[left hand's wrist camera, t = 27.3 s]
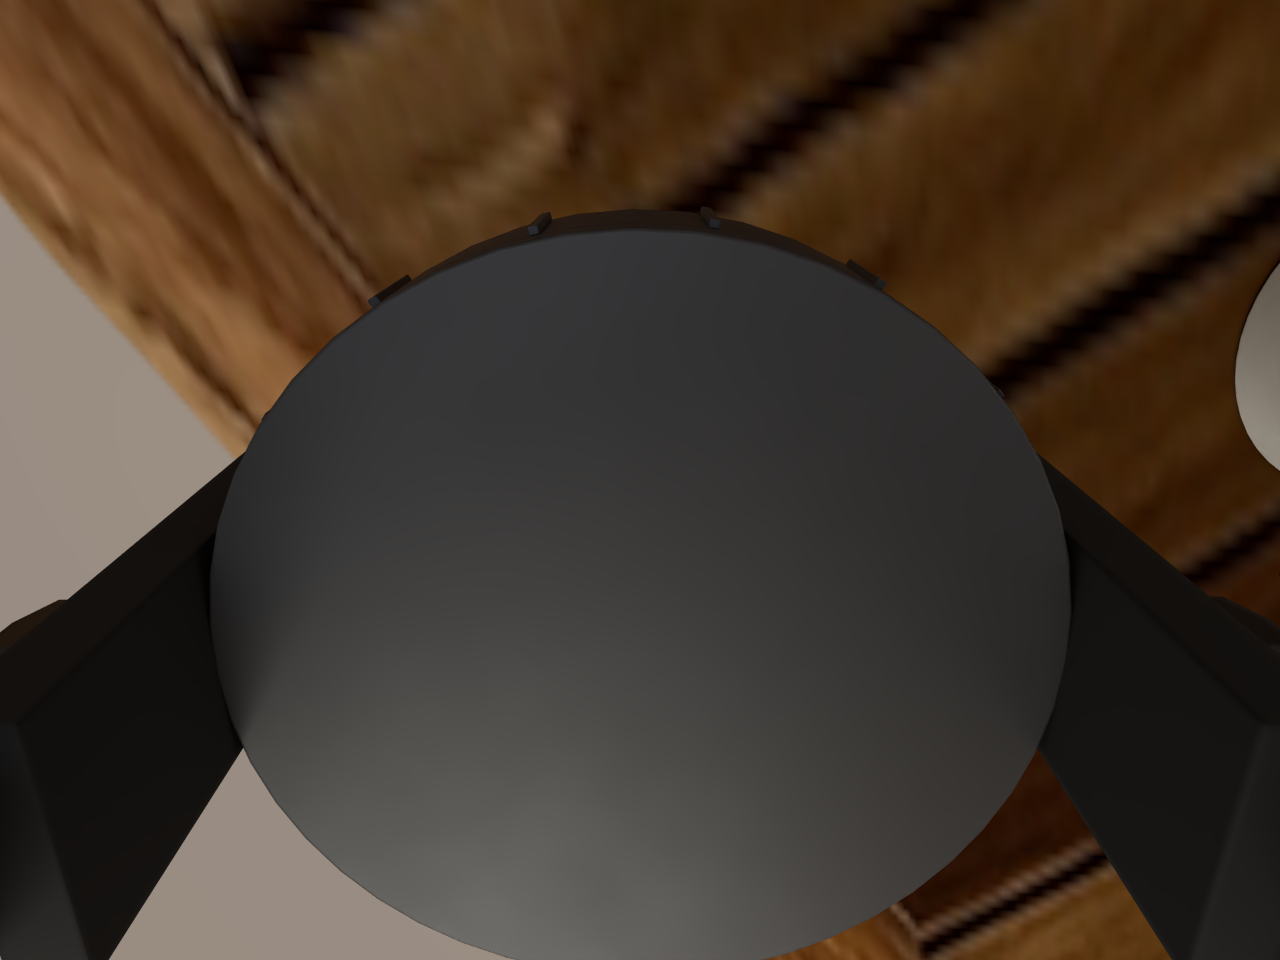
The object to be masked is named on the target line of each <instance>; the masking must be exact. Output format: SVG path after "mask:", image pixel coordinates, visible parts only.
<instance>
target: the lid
mask: <svg viewBox="0 0 1280 960" xmlns="http://www.w3.org/2000/svg"><path fill="white" fill-rule="evenodd" d="M886 284H887V283H886V282H885V281H883V280H882V279H880V278H879V277H877V276H876V275H874V274H872V273H871V272H869V271H868V270H866V269H865V268H863V267H862V266H860V265H859V264H857V263H855V262H854V261H852V260H851V259H850V260H849V261H848V262H847V264H846V265H844V264H843V263H841V262H839V261H837V260H835V259H833V258H831V257H829V256H827V255H825V254H823V253H821V252H819V251H817V250H815V249H813V248H811V247H809V246H807V245H805V244H803V243H801V242H799V241H797V240H794V239H791V238H788V237H785V236H782V235H779V234H776V233H773V232H771V231H768V230H765V229H762V228H759V227H756V226H753V225H750V224H747V223H744V222H739V221H733V220H728V219H723V218H718V217H717V215H716V214H715V213H714V212H713V211H712V209H711V208H708V207H701V212H700V214H696V213H691V212H677V211H657V210H637V209H630V210H619V211H607V212H596V213H584V214H575V215H571V216H566V217H562V218H558V219H553V220H552V217H551V213H550V212H547V213H543V214H541V215H540V216H539V217H538V218H536V219H535V220H534V221H533V222H532V223H531V224H530V225H527V226H523V227H520V228H517V229H515V230H512V231H509V232H507V233H504V234H501V235H499V236H496V237H494V238H491V239H488V240H486V241H483V242H480V243H478V244H475V245H472V246H470V247H468V248H467V249H465V250H463V251H461V252H459V253H458V254H456V255H454V256H452V257H450V258H448V259H447V260H445V261H443V262H441V263H439V264H438V265H436V266H434V267H432V268H430V269H428V270H427V271H425V272H423V273H422V274H420V275H419V276H417V277H416V278H415V279H413V280H411V278H410V277H409V276H408V275H406V276H404V277H403V278H401V279H399V280H398V281H396V282H395V283H393V284H392V285H390V286H389V287H387V288H386V289H384V290H383V291H381V292H379V293H378V294H376V295H375V296H373V297H372V298H371V299H369V300H368V302H369V304H370V305H371V306H372V307H373V308H372V309H371V310H369V311H368V312H367V313H365V314H364V315H363V316H361V317H360V318H359V319H357V320H356V321H355V322H353V323H352V324H351V325H349V326H348V327H347V328H345V329H344V330H343V331H341V332H340V333H339V334H337V335H336V336H335V337H333V338H332V339H331V340H330V342H329V343H328V344H327V345H326V346H325V347H324V348H323V349H322V350H321V351H320V352H319V353H318V354H317V355H316V356H315V357H314V358H313V359H312V360H311V361H310V362H309V363H308V364H307V365H306V366H305V367H304V368H303V369H302V370H301V371H300V372H299V373H298V374H297V375H296V376H295V377H294V378H293V379H292V380H291V382H290V383H289V384H288V386H287V387H286V389H285V390H284V391H283V393H282V394H281V396H280V397H279V398H278V400H277V401H276V402H275V404H274V405H273V407H272V408H271V409H270V410H269V411H268V412H266V413H265V415H264V416H263V418H262V420H261V421H262V422H261V423H260V425H259V426H258V428H257V430H256V432H255V434H254V436H253V438H252V440H251V442H250V444H249V446H248V448H247V450H246V452H245V454H244V456H243V458H242V459H241V461H240V463H239V465H238V467H237V469H236V471H235V473H234V476H233V479H232V482H231V485H230V488H229V491H228V494H227V497H226V500H225V503H224V506H223V509H222V513H221V516H220V519H219V522H218V525H217V532H216V538H215V544H214V551H213V557H212V563H211V569H210V602H209V626H210V633H211V640H212V646H213V651H214V656H215V661H216V666H217V672H218V676H219V681H220V685H221V690H222V693H223V697H224V700H225V703H226V707H227V710H228V713H229V716H230V720H231V722H232V724H233V726H234V728H235V731H236V733H237V735H238V737H239V739H240V741H241V743H242V746H243V748H244V750H245V752H246V754H247V756H248V758H249V760H250V763H251V764H252V766H253V767H254V769H255V771H256V772H257V774H258V775H259V777H260V778H261V780H262V782H263V783H264V785H265V786H266V788H267V789H268V791H269V792H270V794H271V796H272V797H273V799H274V800H275V802H276V803H277V804H278V806H279V807H280V808H281V809H282V810H283V812H284V813H285V814H286V815H287V816H288V818H289V819H290V820H291V821H292V822H293V824H294V825H295V826H296V827H297V828H298V830H299V831H300V832H301V833H302V834H303V836H304V837H305V838H306V839H307V840H308V841H309V842H310V843H311V844H312V845H313V846H314V847H315V848H317V849H318V850H319V851H320V852H321V853H322V854H323V855H324V856H325V857H326V858H327V859H328V860H329V861H330V862H331V863H333V864H334V865H335V866H336V867H337V868H338V869H339V870H340V871H341V872H342V873H344V874H345V875H347V876H348V877H349V878H351V879H352V880H353V881H355V882H356V883H357V884H359V885H360V886H361V887H363V888H364V889H365V890H367V891H368V892H369V893H371V894H372V895H373V896H375V897H376V898H377V899H379V900H381V901H382V902H384V903H386V904H387V905H389V906H391V907H393V908H394V909H396V910H398V911H399V912H401V913H403V914H405V915H406V916H408V917H410V918H411V919H413V920H415V921H416V922H418V923H420V924H422V925H425V926H427V927H429V928H431V929H433V930H436V931H438V932H440V933H442V934H444V935H447V936H449V937H451V938H453V939H456V940H458V941H460V942H462V943H465V944H468V945H471V946H474V947H477V948H480V949H483V950H486V951H489V952H492V953H495V954H498V955H501V956H504V957H507V958H511V959H516V960H764V959H768V958H772V957H776V956H780V955H784V954H787V953H790V952H793V951H795V950H798V949H801V948H804V947H806V946H809V945H812V944H814V943H817V942H820V941H823V940H825V939H828V938H831V937H833V936H835V935H837V934H839V933H841V932H843V931H845V930H847V929H849V928H851V927H853V926H855V925H857V924H860V923H862V922H864V921H866V920H868V919H870V918H872V917H874V916H875V915H877V914H879V913H880V912H882V911H883V910H885V909H886V908H888V907H890V906H891V905H893V904H894V903H896V902H898V901H899V900H901V899H902V898H904V897H906V896H907V895H909V894H910V893H912V892H914V891H915V890H916V889H917V888H919V887H920V886H921V885H922V884H924V883H925V882H926V881H927V880H929V879H930V878H931V877H932V876H934V875H935V874H936V873H937V872H939V871H940V870H941V869H942V868H944V867H945V866H946V865H948V864H949V863H950V862H951V861H952V860H953V859H954V858H955V857H956V856H957V855H958V854H959V853H960V852H961V851H962V850H963V849H964V848H965V847H966V846H967V845H968V844H969V843H970V842H971V841H972V840H973V839H974V838H975V837H976V836H977V835H978V834H979V833H980V832H981V831H982V830H983V829H984V828H985V826H986V825H987V824H988V822H989V821H990V820H991V819H992V817H993V816H994V815H995V813H996V812H997V811H998V810H999V808H1000V807H1001V806H1002V804H1003V803H1004V802H1005V801H1006V799H1007V798H1008V797H1009V795H1010V794H1011V793H1012V791H1013V790H1014V788H1015V786H1016V785H1017V783H1018V781H1019V780H1020V778H1021V776H1022V775H1023V773H1024V771H1025V769H1026V768H1027V766H1028V764H1029V763H1030V761H1031V759H1032V758H1033V756H1034V754H1035V752H1036V751H1037V748H1038V746H1039V743H1040V741H1041V739H1042V736H1043V734H1044V731H1045V729H1046V727H1047V724H1048V722H1049V720H1050V717H1051V715H1052V712H1053V710H1054V708H1055V704H1056V700H1057V696H1058V692H1059V688H1060V684H1061V679H1062V675H1063V670H1064V665H1065V661H1066V655H1067V650H1068V644H1069V635H1070V625H1071V616H1072V603H1071V582H1070V560H1069V556H1068V551H1067V546H1066V541H1065V536H1064V531H1063V526H1062V521H1061V517H1060V512H1059V508H1058V506H1057V503H1056V500H1055V498H1054V495H1053V492H1052V490H1051V487H1050V484H1049V482H1048V479H1047V476H1046V474H1045V471H1044V468H1043V466H1042V463H1041V460H1040V459H1039V457H1038V455H1037V453H1036V452H1035V450H1034V448H1033V446H1032V444H1031V443H1030V441H1029V439H1028V437H1027V436H1026V434H1025V432H1024V430H1023V429H1022V427H1021V425H1020V423H1019V421H1018V420H1017V418H1016V416H1015V414H1014V413H1013V411H1012V410H1011V409H1010V408H1009V406H1008V405H1007V404H1006V402H1005V401H1004V400H1003V399H1002V398H1003V397H1004V395H1003V393H1002V392H1001V390H1000V389H999V388H997V387H996V386H995V385H993V384H992V383H991V382H989V381H988V380H987V378H986V377H985V376H984V375H983V373H982V372H981V371H980V370H979V368H978V367H977V366H976V365H975V364H974V363H973V362H971V361H970V360H969V359H968V358H967V357H966V356H965V355H964V354H963V353H962V352H961V351H960V350H959V349H958V348H957V347H955V346H954V345H953V344H952V343H951V342H950V341H949V340H948V339H947V338H946V337H945V336H944V335H943V334H942V333H940V332H939V331H938V330H937V329H936V328H935V327H934V326H933V325H931V324H930V323H928V322H927V321H925V320H924V319H922V318H921V317H920V316H918V315H917V314H915V313H914V312H912V311H911V310H909V309H908V308H907V307H905V306H904V305H902V304H901V303H899V302H898V301H896V300H895V299H894V298H892V297H891V296H889V295H888V294H886V293H885V292H883V291H882V290H883V289H884V287H885V286H886Z"/></svg>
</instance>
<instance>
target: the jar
mask: <svg viewBox="0 0 1280 960" xmlns="http://www.w3.org/2000/svg"><path fill="white" fill-rule="evenodd" d="M1235 387H1236V399H1237V403H1238V407H1239V412H1240V416H1241V419H1242V421H1243V423H1244V426H1245V428H1246V431H1247V433H1248V435H1249V437H1250V438H1251V440H1252V441H1253V443H1254V445H1255V446H1256V448H1257V449H1258V450H1259V451H1260V453H1261V454H1262V455H1263V456H1264V457H1265V458H1266V459H1267V460H1268V461H1269V462H1270V463H1271V464H1272V465H1273V466H1275V467H1276V468H1277V469H1278V470H1280V263H1279V265H1278V266H1277V267H1276V268H1275V270H1274V271H1273V272H1272V274H1271V275H1270V277H1269V278H1268V280H1267V281H1266V283H1265V285H1264V286H1263V288H1262V290H1261V291H1260V293H1259V294H1258V296H1257V298H1256V300H1255V303H1254V305H1253V307H1252V309H1251V311H1250V313H1249V315H1248V318H1247V321H1246V323H1245V326H1244V329H1243V332H1242V335H1241V339H1240V343H1239V348H1238V353H1237V358H1236V371H1235Z"/></svg>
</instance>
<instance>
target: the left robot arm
mask: <svg viewBox="0 0 1280 960" xmlns="http://www.w3.org/2000/svg"><path fill="white" fill-rule="evenodd" d="M245 452H246V451H245ZM245 452H244V453H243V454H242V455H241V456H239V457H238V458H237V459H236V460H235V461H233V462H232V463H231V464H230V465H229V466H227V467H226V468H225V469H224V470H223V471H222V472H220V473H219V474H218V475H217V476H215V477H214V478H213V479H212V480H211V481H209V482H208V483H207V484H206V485H205V486H203V487H202V488H201V489H200V490H199V491H197V492H196V493H195V494H194V495H193V496H191V497H190V498H189V499H188V500H187V501H185V502H184V503H183V504H182V505H181V506H179V507H178V508H177V509H176V510H175V511H173V512H172V513H171V514H170V515H169V516H167V517H166V518H165V519H164V520H163V521H161V522H160V523H159V524H158V525H157V526H155V527H154V528H153V529H152V530H151V531H149V532H148V533H147V534H146V535H145V536H143V537H142V538H141V539H140V540H139V541H137V542H136V543H135V544H134V545H133V546H131V547H130V548H129V549H128V550H127V551H125V552H124V553H123V554H122V555H121V556H119V557H118V558H117V559H116V560H115V561H113V562H112V563H111V564H110V565H109V566H107V567H106V568H105V569H104V570H103V571H101V572H100V573H99V574H98V575H97V576H95V577H94V578H93V579H92V580H91V581H89V582H88V583H87V584H86V585H85V586H83V587H82V588H81V589H80V590H78V591H77V592H76V593H75V594H74V595H72V596H71V597H70V598H69V599H68V600H58V601H56V602H54V603H52V604H50V605H48V606H46V607H43V608H41V609H40V610H37V611H35V612H33V613H31V614H29V615H27V616H25V617H23V618H21V619H19V620H17V621H15V622H13V623H11V624H10V625H9V626H8V627H6V628H5V629H4V630H3V631H1V632H0V956H1V959H2V960H109V958H110V957H111V955H112V954H113V952H114V950H115V949H116V947H117V946H118V944H119V943H120V941H121V939H122V938H123V936H124V935H125V933H126V932H127V930H128V928H129V927H130V925H131V924H132V922H133V921H134V919H135V917H136V916H137V914H138V913H139V911H140V909H141V908H142V906H143V905H144V903H145V902H146V900H147V898H148V897H149V895H150V894H151V892H152V891H153V889H154V887H155V886H156V884H157V883H158V881H159V880H160V878H161V876H162V875H163V873H164V872H165V870H166V869H167V867H168V865H169V864H170V862H171V861H172V859H173V858H174V856H175V854H176V853H177V851H178V850H179V848H180V847H181V845H182V843H183V842H184V840H185V839H186V837H187V835H188V834H189V832H190V831H191V829H192V828H193V826H194V824H195V823H196V821H197V820H198V818H199V817H200V815H201V813H202V812H203V810H204V809H205V807H206V806H207V804H208V802H209V801H210V799H211V798H212V796H213V795H214V793H215V791H216V790H217V788H218V787H219V785H220V783H221V782H222V780H223V779H224V777H225V776H226V774H227V772H228V771H229V769H230V768H231V766H232V765H233V763H234V761H235V760H236V758H237V757H238V755H239V754H240V752H241V750H242V749H243V746H242V743H241V741H240V739H239V737H238V735H237V733H236V731H235V728H234V726H233V724H232V722H231V720H230V716H229V713H228V710H227V707H226V703H225V700H224V697H223V693H222V690H221V685H220V681H219V676H218V672H217V666H216V661H215V656H214V651H213V646H212V640H211V633H210V626H209V602H210V569H211V563H212V557H213V551H214V544H215V538H216V532H217V525H218V522H219V519H220V516H221V513H222V509H223V506H224V503H225V500H226V497H227V494H228V491H229V488H230V485H231V482H232V479H233V476H234V473H235V471H236V469H237V467H238V465H239V463H240V461H241V459H242V458H243V456H244V454H245ZM1037 455H1038V457H1039V459H1040V460H1041V463H1042V466H1043V468H1044V471H1045V474H1046V476H1047V479H1048V482H1049V484H1050V487H1051V490H1052V492H1053V495H1054V498H1055V500H1056V503H1057V506H1058V508H1059V512H1060V517H1061V521H1062V526H1063V531H1064V536H1065V541H1066V546H1067V551H1068V556H1069V560H1070V582H1071V603H1072V616H1071V625H1070V635H1069V644H1068V650H1067V655H1066V661H1065V665H1064V670H1063V675H1062V679H1061V684H1060V688H1059V692H1058V696H1057V700H1056V704H1055V708H1054V710H1053V712H1052V715H1051V717H1050V720H1049V722H1048V724H1047V727H1046V729H1045V731H1044V734H1043V736H1042V739H1041V741H1040V743H1039V746H1038V749H1039V751H1040V753H1041V754H1042V756H1043V757H1044V759H1045V761H1046V762H1047V764H1048V765H1049V767H1050V768H1051V770H1052V772H1053V773H1054V775H1055V776H1056V778H1057V779H1058V781H1059V783H1060V784H1061V786H1062V787H1063V789H1064V790H1065V792H1066V794H1067V795H1068V797H1069V798H1070V800H1071V801H1072V803H1073V805H1074V806H1075V808H1076V809H1077V811H1078V812H1079V814H1080V816H1081V817H1082V819H1083V820H1084V822H1085V824H1086V825H1087V827H1088V828H1089V830H1090V831H1091V833H1092V835H1093V836H1094V838H1095V839H1096V841H1097V842H1098V844H1099V846H1100V847H1101V849H1102V850H1103V852H1104V853H1105V855H1106V857H1107V858H1108V860H1109V861H1110V863H1111V864H1112V866H1113V868H1114V869H1115V871H1116V872H1117V874H1118V875H1119V877H1120V879H1121V880H1122V882H1123V883H1124V885H1125V886H1126V888H1127V890H1128V891H1129V893H1130V894H1131V896H1132V898H1133V899H1134V901H1135V902H1136V904H1137V905H1138V907H1139V909H1140V910H1141V912H1142V913H1143V915H1144V916H1145V918H1146V920H1147V921H1148V923H1149V924H1150V926H1151V927H1152V929H1153V931H1154V932H1155V934H1156V935H1157V937H1158V938H1159V940H1160V942H1161V943H1162V945H1163V946H1164V948H1165V949H1166V951H1167V953H1168V954H1169V956H1170V957H1171V959H1172V960H1279V959H1280V628H1279V627H1278V626H1277V625H1276V624H1274V623H1273V622H1272V621H1271V620H1269V619H1267V618H1265V617H1263V616H1261V615H1259V614H1257V613H1255V612H1253V611H1251V610H1249V609H1247V608H1245V607H1242V606H1240V605H1238V604H1236V603H1234V602H1232V601H1230V600H1228V599H1226V598H1224V597H1209V596H1208V595H1207V594H1206V593H1205V592H1203V591H1202V590H1201V589H1200V588H1199V587H1197V586H1196V585H1195V584H1194V583H1193V582H1191V581H1190V580H1189V579H1188V578H1187V577H1185V576H1184V575H1183V574H1182V573H1181V572H1179V571H1178V570H1177V569H1176V568H1175V567H1173V566H1172V565H1171V564H1170V563H1169V562H1167V561H1166V560H1165V559H1164V558H1163V557H1161V556H1160V555H1159V554H1158V553H1157V552H1155V551H1154V550H1153V549H1152V548H1151V547H1149V546H1148V545H1147V544H1146V543H1145V542H1143V541H1142V540H1141V539H1140V538H1138V537H1137V536H1136V535H1135V534H1134V533H1132V532H1131V531H1130V530H1129V529H1128V528H1126V527H1125V526H1124V525H1123V524H1122V523H1120V522H1119V521H1118V520H1117V519H1116V518H1114V517H1113V516H1112V515H1111V514H1110V513H1108V512H1107V511H1106V510H1105V509H1104V508H1102V507H1101V506H1100V505H1099V504H1098V503H1096V502H1095V501H1094V500H1093V499H1092V498H1090V497H1089V496H1088V495H1087V494H1086V493H1084V492H1083V491H1082V490H1081V489H1080V488H1078V487H1077V486H1076V485H1075V484H1074V483H1072V482H1071V481H1070V480H1069V479H1068V478H1066V477H1065V476H1064V475H1063V474H1062V473H1060V472H1059V471H1058V470H1057V469H1056V468H1054V467H1053V466H1052V465H1051V464H1050V463H1048V462H1047V461H1046V460H1045V459H1044V458H1042V457H1041V456H1040V455H1039V454H1038V453H1037Z"/></svg>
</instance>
